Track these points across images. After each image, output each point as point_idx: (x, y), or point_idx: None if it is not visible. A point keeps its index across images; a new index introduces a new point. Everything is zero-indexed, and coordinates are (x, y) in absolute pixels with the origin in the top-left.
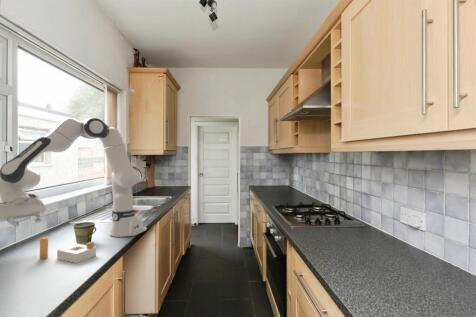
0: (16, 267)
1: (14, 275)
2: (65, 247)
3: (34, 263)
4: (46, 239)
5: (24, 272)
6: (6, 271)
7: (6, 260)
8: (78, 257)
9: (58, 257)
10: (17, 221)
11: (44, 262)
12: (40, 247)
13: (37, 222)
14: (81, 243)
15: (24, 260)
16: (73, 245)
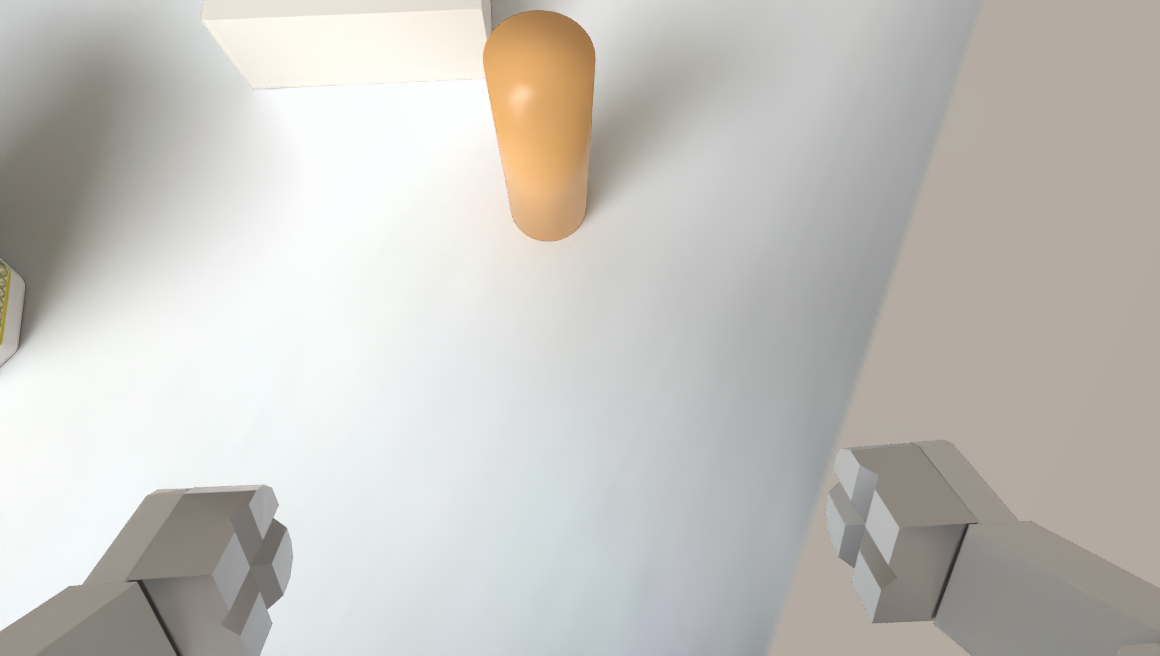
0: (823, 179)
1: (905, 16)
2: (378, 9)
3: (678, 141)
4: (535, 20)
5: (830, 11)
6: (915, 155)
7: (802, 487)
8: None
9: None
10: (912, 520)
11: (613, 90)
12: (590, 133)
13: (268, 544)
14: (9, 266)
15: (690, 311)
16: (279, 2)
